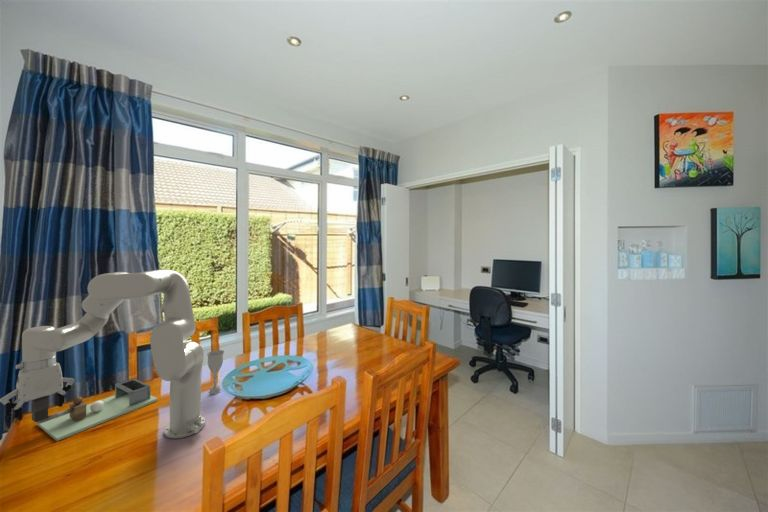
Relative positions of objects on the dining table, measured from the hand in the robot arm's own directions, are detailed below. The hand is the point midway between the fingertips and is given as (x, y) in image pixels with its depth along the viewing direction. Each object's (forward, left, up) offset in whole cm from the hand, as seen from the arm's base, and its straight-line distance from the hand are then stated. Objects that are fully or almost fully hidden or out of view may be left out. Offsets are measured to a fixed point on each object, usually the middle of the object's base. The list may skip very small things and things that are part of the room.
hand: (40, 412), depth 102 cm
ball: (0, -15, -5) cm, 16 cm away
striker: (0, -5, -7) cm, 8 cm away
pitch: (0, -17, -8) cm, 18 cm away
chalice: (-22, -49, -8) cm, 54 cm away
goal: (0, -27, -8) cm, 28 cm away
